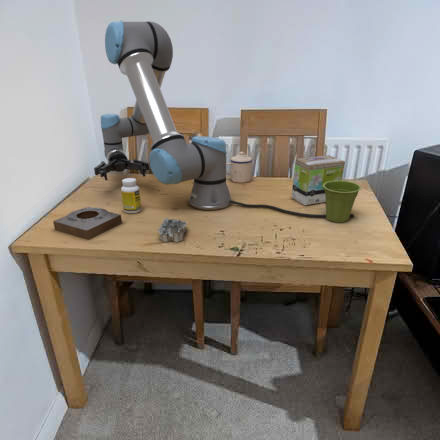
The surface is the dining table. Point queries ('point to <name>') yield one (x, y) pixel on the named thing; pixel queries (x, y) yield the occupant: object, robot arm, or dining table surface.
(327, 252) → the dining table surface
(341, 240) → the dining table surface
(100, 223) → the bottle stand
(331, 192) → the plant pot
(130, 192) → the pill bottle
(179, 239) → the egg carton
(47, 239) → the dining table surface
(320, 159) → the tea box
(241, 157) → the teacup with lid
